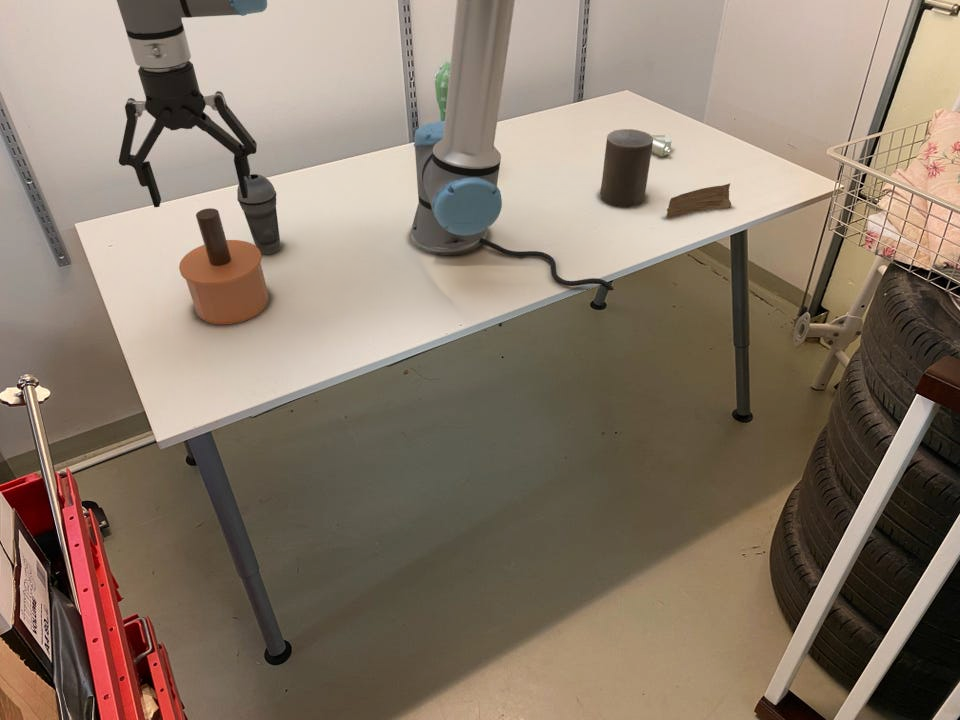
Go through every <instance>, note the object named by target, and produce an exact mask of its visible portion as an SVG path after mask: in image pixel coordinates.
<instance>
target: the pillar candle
mask: <svg viewBox="0 0 960 720" xmlns="http://www.w3.org/2000/svg"><path fill="white" fill-rule="evenodd" d="M651 135H652V134H650V133H649V132H646V131H644V130H639V129H635V128H634V129H631V128H622V129H614V130H612V131H611V132H609V133H608V134H607V135H606V143H605V151H604V161H603V169H602V177H601V183H600V184H601V185H600V191H599V194H600V198H601V199H602V201H603V202H604V203H606V204H608V205H610V206H613V207H619V208H620V207H621V208H633V207H637V206H639V205H642V203H644V201H645V197H646V191H647V183H648V178H649V171H650V164H651V159H652V145H653V137H652V136H651Z"/></svg>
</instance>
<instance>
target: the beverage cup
mask: <svg viewBox="0 0 960 720" xmlns="http://www.w3.org/2000/svg"><path fill="white" fill-rule="evenodd" d="M245 180H246V184H247V189H248V198H242V193H241V189H240V185H239V184H238V185H237V190H236V192H237V197H236V199H237V202H238V203H239V206H240V208H241V210H242V211H243V215H244V216H245V220H246V222H247V226H248V229H249V231H250V234H251V237H252V240H253V243H254V245H255V246H256V247H257V248H258V249H259V250H260V253H261V255H272V254H275V253H277V252H278V251H280V249H281V239H280V230H279V229H280V228H279V221H278V212H277V191H276V190H275V187H274V185H273V183H272V182H271V181H270V180H269V179H268V178H267V177H265V176H264V175H261V174H258V173H257V174H256V173H252V174H251V173H250V175H249V176H248V177H245Z"/></svg>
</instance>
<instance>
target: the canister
mask: <svg viewBox="0 0 960 720" xmlns="http://www.w3.org/2000/svg"><path fill="white" fill-rule="evenodd" d="M185 281H186V286H187V288H188V291H189V294H190V297H191V300H192V303H193V306H194V309H195V311H196V314H197V316H198V317H199V318H200V319H201V320H203V321H204V322H206V323H209V324H214V325H233V324H238V323H241V322H245V321H247V320H249V319H252V318H254V317H255V316H258V314H260V313H261V312H262V311H264V309H265V308H266V307H267V305H268V302H269V292H268V288H267V283H266V279H265V275H264V271H263V266H262V263H260V265H259V266H258V268H257V269H256V270H255V271H254V272H252V273H251V274H249V275H248V276H246V277H244V278H242V279H240V280H237V281H234V282H231V283H227V284H222V285H209V286H208V285H198V284H194V283H191V282H189V281H187V280H186V279H185Z"/></svg>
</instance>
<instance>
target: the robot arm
mask: <svg viewBox="0 0 960 720" xmlns="http://www.w3.org/2000/svg"><path fill="white" fill-rule="evenodd" d="M515 2H516V0H456V4H455V16H454V23H453V24H454V25H453V33H452V34H453V35H452V43H451V44H452V45H451V55H450V62H451V64H450V74H449V84H448V94H447V104H446V114H445V121H441V122H440V121H435V122H429V123H426V124H423V125H421V126H420V127H418V128H417V129H416V130H415V132H414V141H413V142H414V143H413V147H414V154H415V170H416V182H417V183H416V184H417V197H418V202H417V203H418V204H417V206H416V209H415V210H416V211H415V214H414V218H413V220H412V225H411V240H412V242H413V243H414V245H415V246H416V247H417V248H419V249H420V250H422V251H424V252H427V253H429V254H433V255H437V256H438V255H440V256H457V255H462V254H463V255H464V254H466V253H470V252H472V251H474V250H476V249H478V248H480V247H481V246H482V245H485V246H486V247H489V248H491V249H494V250H495V251H497V252H499V253H500V254H503V255H507V256H509V257H539V258H542V259H545V260H547V261H548V262H549V264H550V265H549V266H550V273H551V276H552V278H553V280H554V281H556V283H557V284H559V285H562V286H566V287H578V286H584V285H591V284H597V285H600V286H603V287H604V288H605V289H606V290H608V291H614V287H613V286H612V285H611V284H610V282H608V281H606V280H604V279H601V278H597V277H594V278H593V277H592V278H584V279H577V280H567V279H563V278H561V277H560V276H559V275H558V272H557V265H556V261H555V259H554V257H552V256H551V255H550V254H548V253H546V252H542V251H538V250H525V251H524V250H523V251H519V250H518V251H517V250H510V249H507V248H505V247H502V246H501V245H499V244H497V243H495V242H492V241H490V240H487V237H488V228H489V227H491V226H492V225H493V224H494V223H495V222H496V221H497V220H498V218H499V216H500V213H501V211H502V207H503V201H502V200H503V199H502V194H501V191H500V188H499V187H498V182H499V181H498V179H499V175H500V168H501V167H500V166H501V160H502V155H501V153H500V151H499V150H498V149H497V148H496V146H495V141H496V135H497V134H496V133H497V126H498V118H499V114H500V113H499V112H500V105H501V98H502V91H503V85H504V78H505V72H506V65H507V58H508V51H509V44H510V37H511V29H512V25H513V24H512V22H513V16H514V10H515ZM116 3H117V7H118V10H119V13H120V16H121V18H122V19H121V20H122V23H123V25H124V28H125V32H126V36H127V40H128V43H129V46H130V50H131V54H132V56H133V59H134V60H133V61H134V63H135V64H136V66H139V67H138V69H137V73H138V76H139V79H140V84H141V86H142V89H143V93H144V96H145V100H136V99H135V98H133V97H129V98H128V99H127V100H126V104H125V105H124V111H125V116H126V123H125V128H124V133H123V136H122V137H123V138H122V143H121V147H120V153H119V157H118V164H119V165H120V166H123V167H125V166H130V167H132V168H133V170H134V171H135V174H136V177H137V180H138V184H139V186H141V187H142V188H143V187H147V190H148V192H149V195H150V198H151V202H152V205H153V207H154V208H159V207H161V202H162V196H161V194H160V191H159V187H158V184H157V180H156V178H155V175H154V171H153V168H152V166H151V162H150V161H149V160H147V161H146V159H147V157H148V156H149V154H150V152H151V150H152V149H153V147H154V145H155V144H156V141H157V140H158V138H159V136H160V135H161V134H162V131H163V130H164V128H166V129H168V130H170V131H178V130H180V129H183V130H192V129H193V128H195V127H197V128H199V129H200V130H201V131H202V132H205V133H207V134H208V135H209V136H210V137H212V138H213V139H214V140H216V141H217V142H218V143H219V144H220V145H222V146H223V147H224V148H225V149H227V150H228V151H229V152H230V153H232V155H233V163H234V167H235V172H236V176H237V180H238V185H240V189H241V193H242V198H248V189H247V184H246V180H245V177H248V176H249V175H251V168H250V163H249V158H248V156H251V155H254V154H256V153H257V151H258V150H257V149H258V147H257V145H258V143H257V142H256V140H255V139H254V137H252V135H251V134H250V132H248V130H247V129H246V128H245V126H244V125H243V123H242V122H241V121H240V120H239V119H238V116H236V115H235V113H234V112H233V110H232V109H231V107H229V106H228V104H227V101H226V98H225V95H224V93H223V92H222V91H221V90H220V91H219V90H217V91H215V93H214V94H211V95H206V96H204V95H203V93H202V92H201V90H200V87H199V82H198V78H197V75H196V70H195V67H194V64H193V62H192V61H190V60H191V58H192V54H191V51H190V46H189V42H188V38H187V35H186V31H185V28H184V24H183V18H185V19H186V18H187V19H189V18H204V17H206V18H207V17H222V16H223V17H225V16H241V17H243V16H244V17H245V16H247V15H250V14H258V13H263V12H264V11H266V10H267V8H268V0H116ZM206 106H209V107H210V108H211V109H212V110H213V111H215V112H217V113H218V114H219V116H220V117H221V119H222V120H223V121H224V123H225V124H226V125H227V126H228V128H229V129H230V131H231V132H232V133H233V134H234V135H235V137H236V138H237V139H238V140H237V139H236V138H234V137H233V136H232V135H231V134H230V133H229V132H227V130H225V129H224V128H222V126H220V125H219V124H217V122H215V121H213V119H211V117H210V116H209V115H208V114H207V113H206V112H205V110H206ZM144 111H146V112H147V113H148V114H149V115H150V116H152V117H153V119H155V120H154V122H153V123H152V126H151V128H150V129H149V131H148V133H147V134H146V136H145V138H144V140H143V141H142V143H141V144H140V147H139V149H138V150H137V152H136V154H132V153H131V152H132V147H133V143H134V138H135V134H136V129H137V125H138V120H139V118H141V117H142V115H143V112H144Z"/></svg>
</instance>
